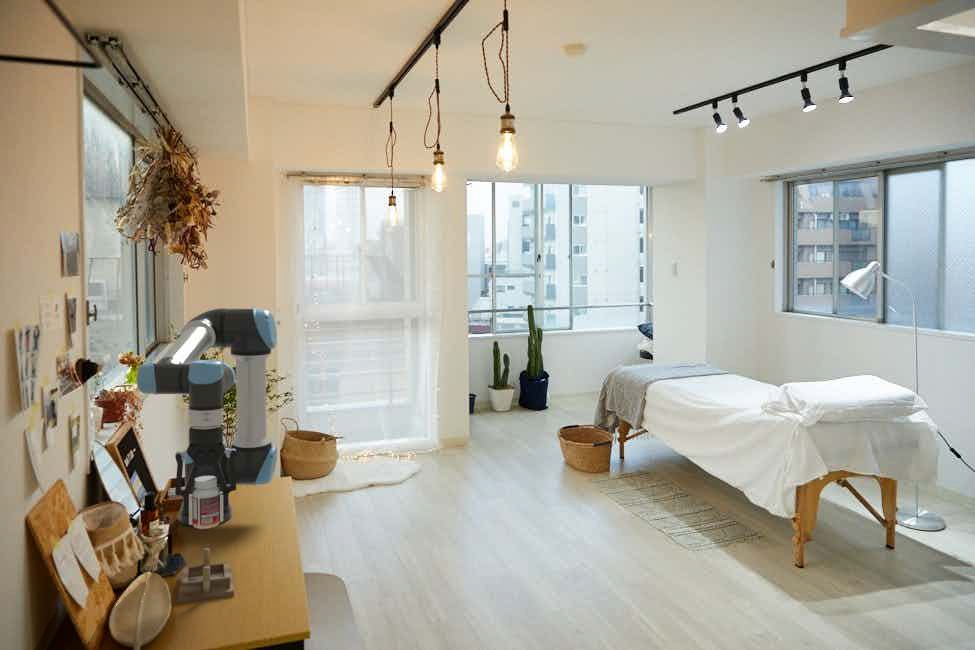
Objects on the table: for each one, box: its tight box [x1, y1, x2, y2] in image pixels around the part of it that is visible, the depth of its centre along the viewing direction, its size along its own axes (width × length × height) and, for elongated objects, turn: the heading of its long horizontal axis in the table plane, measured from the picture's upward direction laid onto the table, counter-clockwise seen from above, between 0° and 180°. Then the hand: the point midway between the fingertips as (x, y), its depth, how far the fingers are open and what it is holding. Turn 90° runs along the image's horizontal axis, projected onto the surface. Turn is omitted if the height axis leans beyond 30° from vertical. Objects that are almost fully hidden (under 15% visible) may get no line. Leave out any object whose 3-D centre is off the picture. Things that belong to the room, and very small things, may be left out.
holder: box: [177, 547, 235, 604], centre depth 175 cm, size 14×12×7 cm
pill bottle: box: [192, 476, 221, 530], centre depth 174 cm, size 6×6×11 cm
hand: (206, 521), depth 174 cm, fingers closed on pill bottle, 6 cm apart
